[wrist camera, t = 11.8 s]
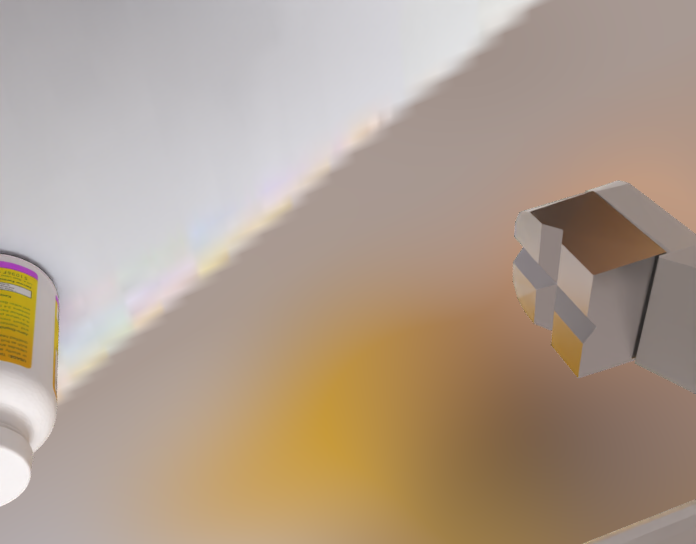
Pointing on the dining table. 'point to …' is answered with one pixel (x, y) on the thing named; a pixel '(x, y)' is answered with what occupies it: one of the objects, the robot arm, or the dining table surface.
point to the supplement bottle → (25, 369)
